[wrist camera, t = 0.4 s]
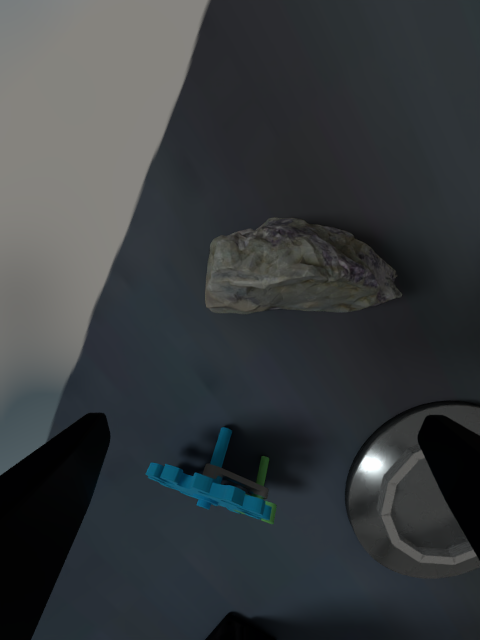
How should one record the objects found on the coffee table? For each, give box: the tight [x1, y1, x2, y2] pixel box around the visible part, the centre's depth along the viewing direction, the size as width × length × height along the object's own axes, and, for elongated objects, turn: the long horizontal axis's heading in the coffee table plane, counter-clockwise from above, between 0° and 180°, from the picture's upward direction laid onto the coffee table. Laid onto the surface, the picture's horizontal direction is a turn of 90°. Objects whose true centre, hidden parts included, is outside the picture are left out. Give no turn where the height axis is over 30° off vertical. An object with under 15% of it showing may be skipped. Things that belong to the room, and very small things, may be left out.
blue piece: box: [146, 427, 277, 524], centre depth 22 cm, size 11×6×10 cm
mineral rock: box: [205, 218, 402, 314], centre depth 17 cm, size 13×11×10 cm
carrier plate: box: [345, 401, 480, 578], centre depth 25 cm, size 18×18×2 cm
